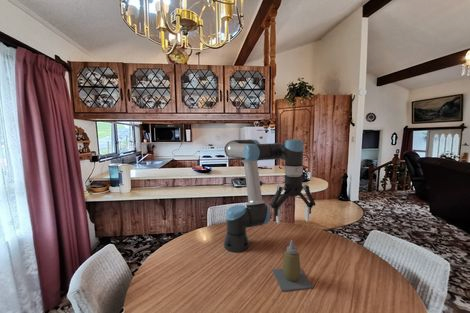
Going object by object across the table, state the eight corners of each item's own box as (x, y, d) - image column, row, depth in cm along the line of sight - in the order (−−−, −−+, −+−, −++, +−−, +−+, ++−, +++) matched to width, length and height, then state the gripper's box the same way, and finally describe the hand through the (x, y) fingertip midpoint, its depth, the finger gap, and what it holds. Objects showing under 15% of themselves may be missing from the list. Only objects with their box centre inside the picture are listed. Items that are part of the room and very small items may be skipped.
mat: (282, 291, 90) (282, 290, 90) (272, 270, 104) (272, 269, 104) (313, 288, 92) (313, 286, 92) (299, 267, 106) (299, 266, 106)
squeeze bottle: (300, 273, 101) (301, 237, 99) (300, 285, 93) (301, 246, 91) (283, 270, 103) (284, 235, 101) (281, 281, 96) (281, 243, 94)
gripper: (268, 177, 88) (267, 227, 90) (324, 175, 91) (323, 223, 93) (263, 174, 95) (263, 219, 97) (315, 172, 98) (314, 216, 101)
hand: (292, 221), depth 95 cm, fingers open, 13 cm apart
